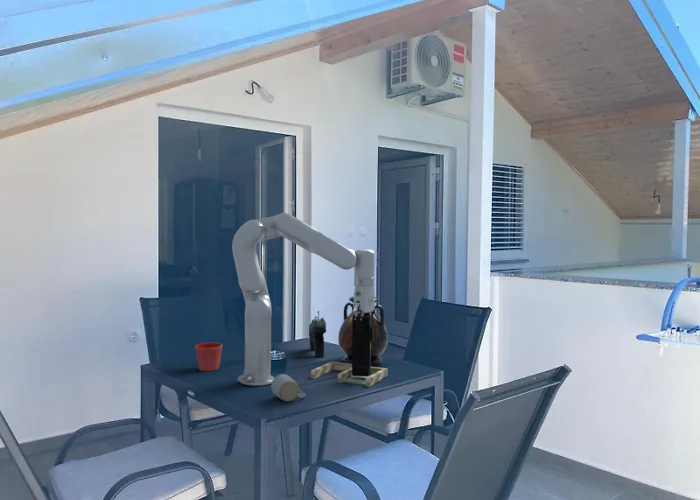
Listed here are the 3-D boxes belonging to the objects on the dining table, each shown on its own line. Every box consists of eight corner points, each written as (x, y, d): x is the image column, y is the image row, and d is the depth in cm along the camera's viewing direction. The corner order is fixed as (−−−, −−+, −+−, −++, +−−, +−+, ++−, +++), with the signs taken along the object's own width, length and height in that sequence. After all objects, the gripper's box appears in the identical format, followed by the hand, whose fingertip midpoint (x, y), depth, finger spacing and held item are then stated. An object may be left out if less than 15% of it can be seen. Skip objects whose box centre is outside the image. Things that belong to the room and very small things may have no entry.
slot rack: (369, 386, 207) (369, 378, 207) (310, 378, 218) (310, 370, 218) (387, 376, 223) (387, 368, 223) (332, 368, 234) (332, 361, 234)
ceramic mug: (279, 404, 185) (280, 380, 185) (270, 397, 192) (271, 374, 192) (309, 400, 190) (310, 377, 190) (299, 394, 198) (300, 372, 197)
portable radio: (373, 373, 220) (374, 308, 219) (371, 377, 214) (372, 310, 213) (353, 372, 221) (354, 308, 220) (351, 376, 215) (351, 310, 214)
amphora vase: (395, 360, 251) (396, 297, 250) (374, 370, 231) (376, 302, 230) (351, 354, 260) (353, 293, 259) (328, 364, 241) (329, 298, 240)
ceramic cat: (326, 358, 253) (327, 313, 252) (312, 358, 251) (313, 313, 251) (319, 348, 272) (319, 307, 271) (305, 349, 271) (306, 307, 270)
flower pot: (189, 370, 226) (189, 346, 226) (204, 364, 236) (204, 341, 236) (213, 373, 223) (213, 348, 222) (227, 367, 233) (227, 343, 233)
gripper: (363, 284, 207) (362, 333, 207) (382, 281, 222) (380, 326, 223) (344, 283, 210) (344, 331, 211) (364, 280, 225) (363, 325, 226)
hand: (363, 328), depth 217 cm, fingers closed on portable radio, 6 cm apart
